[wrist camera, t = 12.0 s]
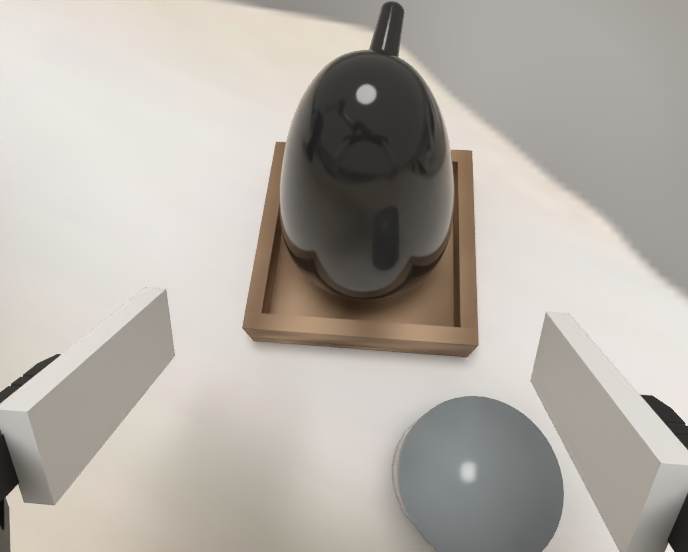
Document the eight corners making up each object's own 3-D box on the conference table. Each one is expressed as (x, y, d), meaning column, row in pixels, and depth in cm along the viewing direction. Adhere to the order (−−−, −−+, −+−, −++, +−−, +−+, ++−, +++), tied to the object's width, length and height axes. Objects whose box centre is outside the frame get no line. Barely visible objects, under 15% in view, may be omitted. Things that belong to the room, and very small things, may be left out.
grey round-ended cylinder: (392, 540, 25) (402, 567, 18) (391, 410, 27) (399, 394, 21) (520, 546, 24) (576, 576, 18) (506, 413, 27) (550, 398, 21)
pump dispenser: (450, 199, 32) (519, -7, 18) (425, 335, 28) (488, 207, 14) (315, 173, 33) (281, -37, 19) (273, 300, 29) (193, 152, 15)
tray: (253, 340, 29) (242, 327, 27) (282, 167, 35) (276, 141, 32) (467, 356, 29) (478, 345, 26) (463, 176, 34) (472, 150, 31)
